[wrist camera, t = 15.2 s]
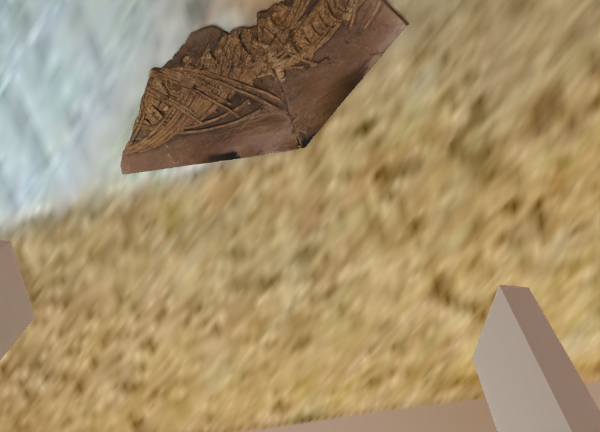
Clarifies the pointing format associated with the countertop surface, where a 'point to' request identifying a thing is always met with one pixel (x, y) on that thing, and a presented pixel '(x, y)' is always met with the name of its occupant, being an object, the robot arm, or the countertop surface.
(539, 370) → the robot arm
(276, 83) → the wooden fragment
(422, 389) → the countertop surface
